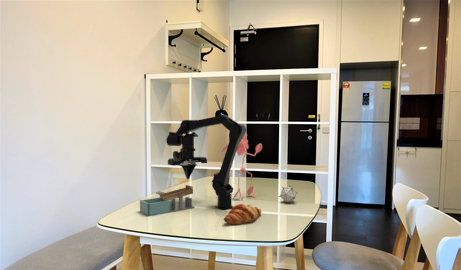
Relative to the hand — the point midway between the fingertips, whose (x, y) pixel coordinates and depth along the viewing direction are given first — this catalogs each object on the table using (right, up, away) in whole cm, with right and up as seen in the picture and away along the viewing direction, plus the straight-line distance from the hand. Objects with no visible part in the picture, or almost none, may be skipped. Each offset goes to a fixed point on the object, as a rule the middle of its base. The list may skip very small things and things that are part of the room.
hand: (187, 178), depth 143 cm
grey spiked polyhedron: (+49, -13, +4) cm, 51 cm away
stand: (-3, -12, -7) cm, 14 cm away
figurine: (+25, -12, +15) cm, 32 cm away
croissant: (+26, -13, -25) cm, 38 cm away
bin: (-12, -12, -14) cm, 22 cm away
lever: (-7, -6, -4) cm, 10 cm away
